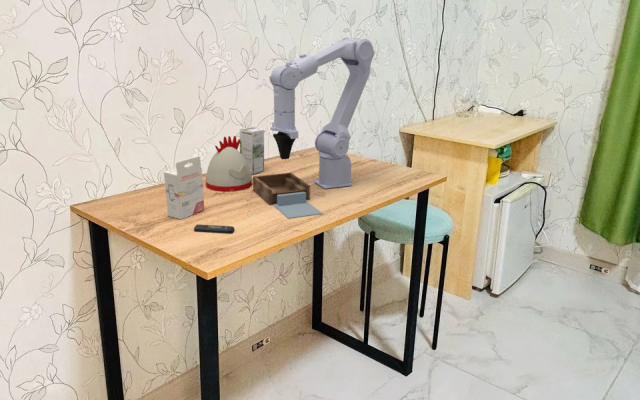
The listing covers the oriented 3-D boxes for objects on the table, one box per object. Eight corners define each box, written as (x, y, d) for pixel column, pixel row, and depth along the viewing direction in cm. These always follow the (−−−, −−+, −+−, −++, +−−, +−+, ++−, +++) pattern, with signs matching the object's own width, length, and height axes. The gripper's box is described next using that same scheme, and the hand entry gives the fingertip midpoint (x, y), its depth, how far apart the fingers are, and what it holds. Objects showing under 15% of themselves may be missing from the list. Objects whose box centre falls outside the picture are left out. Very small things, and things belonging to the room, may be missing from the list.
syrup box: (251, 168, 176) (250, 126, 171) (264, 171, 172) (264, 128, 168) (239, 172, 171) (238, 128, 167) (253, 175, 168) (252, 131, 163)
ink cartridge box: (191, 206, 139) (187, 153, 134) (204, 210, 136) (202, 156, 131) (166, 216, 132) (162, 159, 127) (180, 220, 129) (176, 163, 125)
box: (253, 190, 153) (252, 176, 152) (290, 185, 158) (290, 172, 157) (269, 204, 141) (269, 190, 140) (309, 199, 146) (309, 185, 145)
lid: (273, 207, 141) (273, 194, 140) (305, 202, 145) (306, 190, 144) (288, 220, 132) (288, 207, 131) (322, 215, 136) (322, 202, 135)
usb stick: (193, 233, 123) (192, 227, 122) (196, 229, 125) (196, 223, 125) (232, 235, 122) (231, 229, 121) (235, 231, 124) (234, 225, 124)
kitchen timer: (260, 186, 157) (259, 137, 152) (220, 194, 149) (217, 143, 144) (237, 175, 167) (235, 129, 162) (197, 183, 159) (195, 135, 154)
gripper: (261, 107, 148) (262, 154, 152) (281, 116, 136) (281, 166, 140) (284, 106, 151) (284, 152, 155) (305, 114, 139) (305, 163, 143)
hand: (284, 158), depth 148 cm, fingers closed
